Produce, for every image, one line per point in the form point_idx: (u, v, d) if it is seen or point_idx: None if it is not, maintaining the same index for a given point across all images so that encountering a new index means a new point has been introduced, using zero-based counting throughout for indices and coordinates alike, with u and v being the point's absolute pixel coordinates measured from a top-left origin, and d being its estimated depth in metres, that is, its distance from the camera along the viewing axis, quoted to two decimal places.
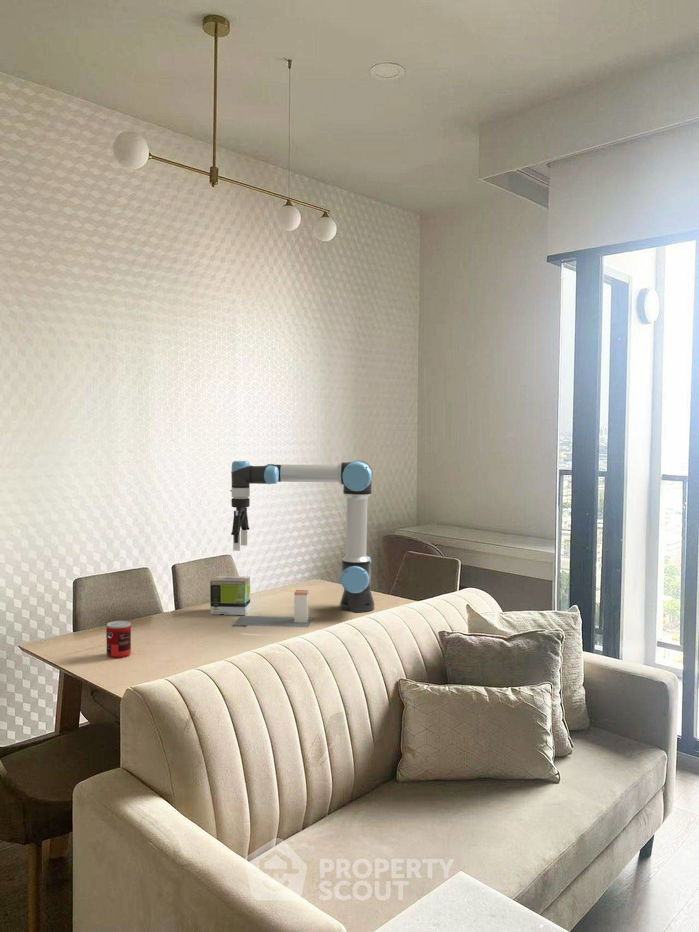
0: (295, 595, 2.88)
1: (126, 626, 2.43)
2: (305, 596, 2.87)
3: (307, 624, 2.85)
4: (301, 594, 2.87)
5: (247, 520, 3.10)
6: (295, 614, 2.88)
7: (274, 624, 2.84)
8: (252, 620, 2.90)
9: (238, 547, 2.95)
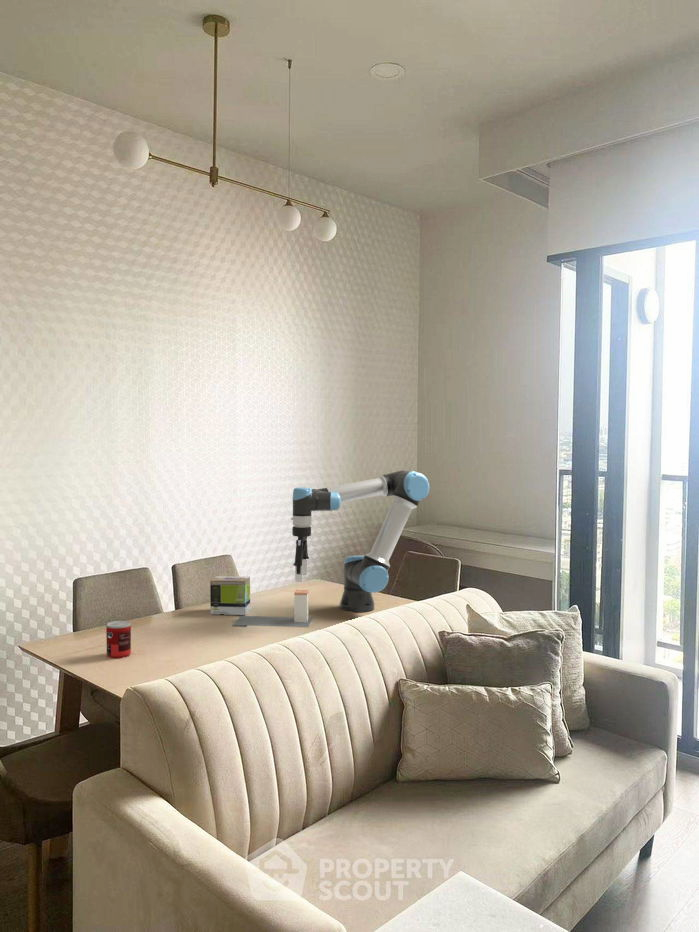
0: (295, 595, 2.88)
1: (126, 626, 2.43)
2: (305, 596, 2.87)
3: (307, 624, 2.85)
4: (301, 594, 2.87)
5: None
6: (295, 614, 2.88)
7: (274, 624, 2.84)
8: (252, 620, 2.90)
9: (300, 578, 2.82)
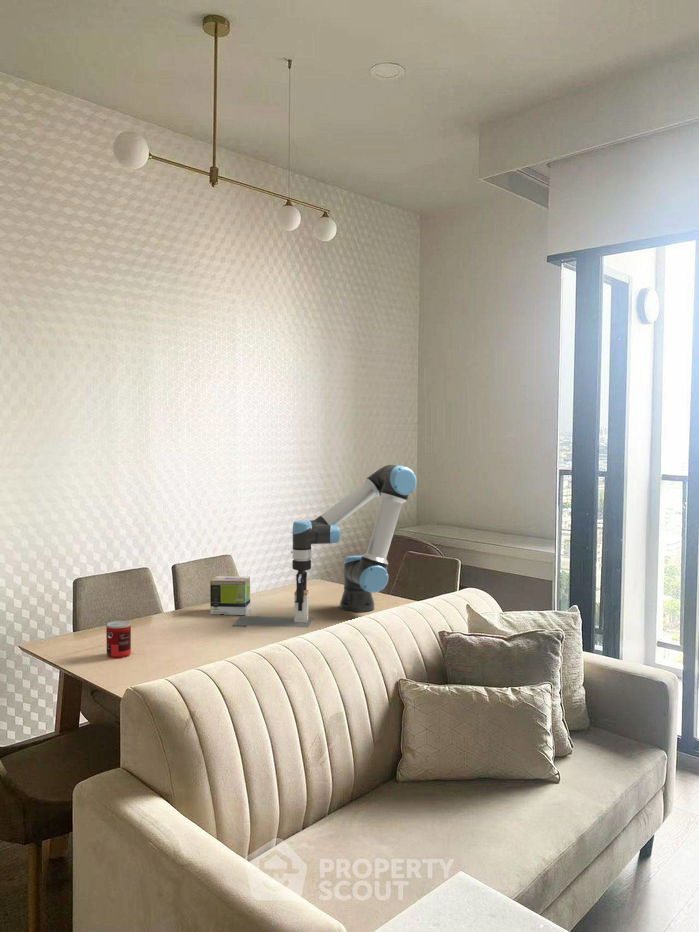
0: (295, 595, 2.88)
1: (126, 626, 2.43)
2: (305, 596, 2.87)
3: (307, 624, 2.85)
4: None
5: (306, 586, 2.95)
6: (295, 614, 2.88)
7: (274, 624, 2.84)
8: (252, 620, 2.90)
9: (302, 615, 2.87)
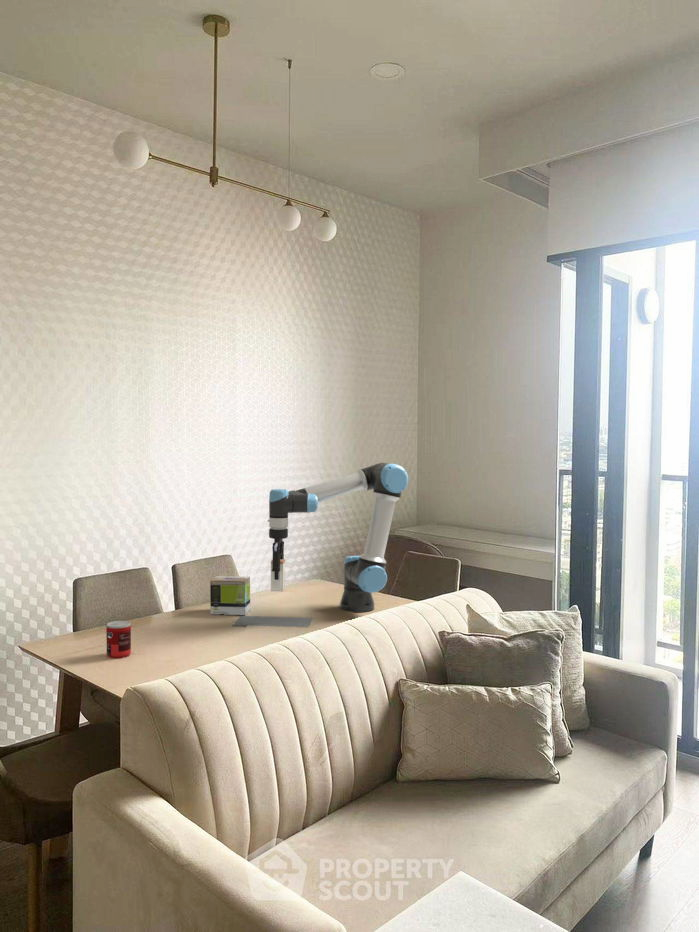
0: (271, 563, 2.85)
1: (126, 626, 2.43)
2: (281, 565, 2.84)
3: (307, 624, 2.85)
4: None
5: (283, 556, 2.92)
6: (271, 583, 2.85)
7: (274, 624, 2.84)
8: (252, 620, 2.90)
9: (278, 584, 2.84)
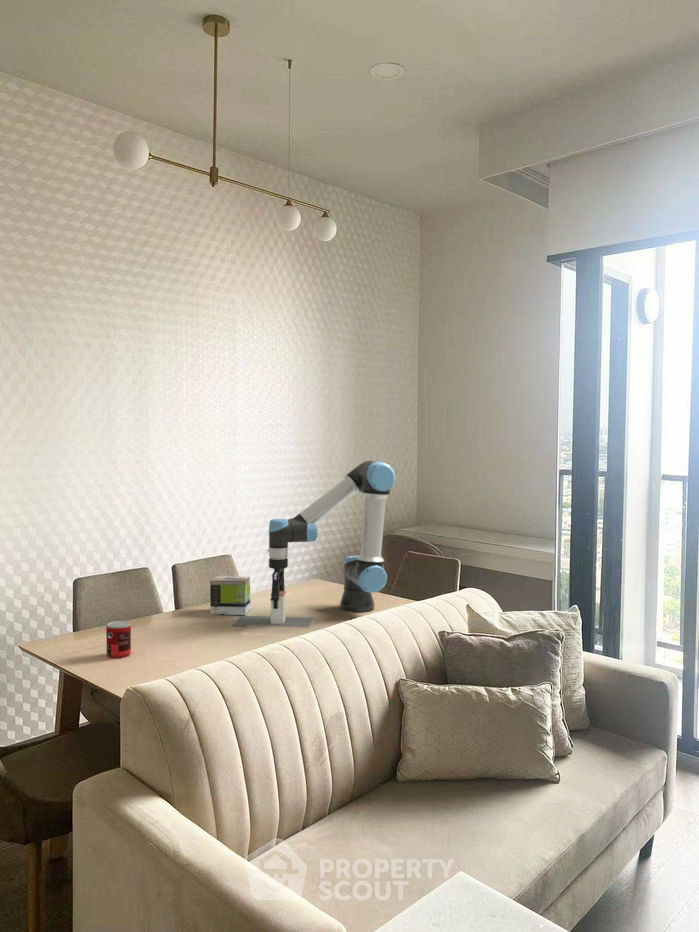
0: (271, 596, 2.85)
1: (126, 626, 2.43)
2: (281, 597, 2.85)
3: (307, 624, 2.85)
4: None
5: None
6: (271, 615, 2.86)
7: (274, 624, 2.84)
8: (252, 620, 2.90)
9: (277, 613, 2.82)
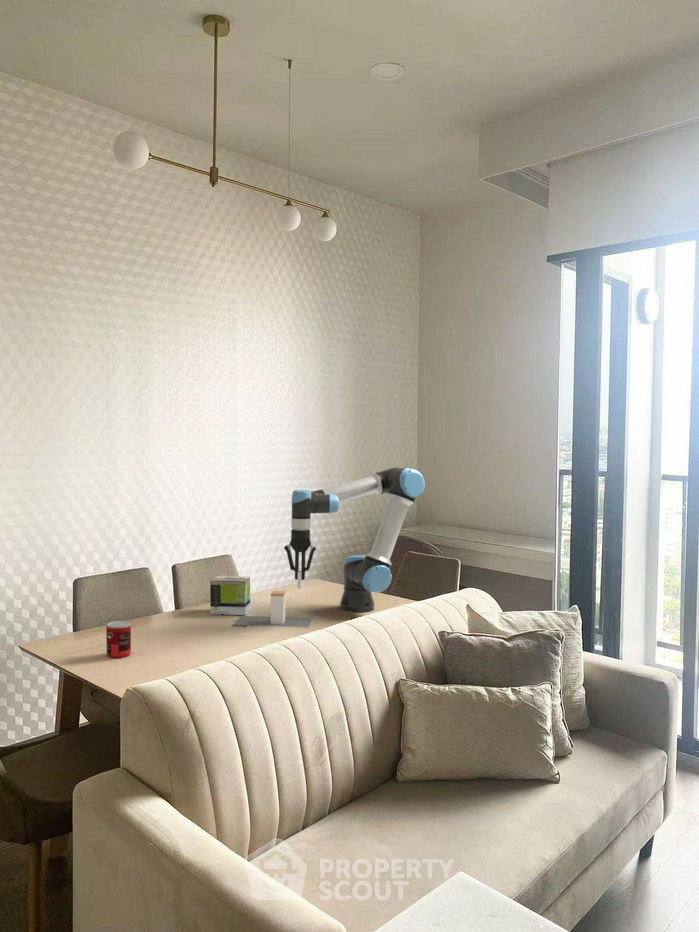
0: (271, 596, 2.85)
1: (126, 626, 2.43)
2: (281, 597, 2.85)
3: (307, 624, 2.85)
4: (277, 595, 2.85)
5: (309, 561, 2.85)
6: (271, 615, 2.86)
7: (274, 624, 2.84)
8: (252, 620, 2.90)
9: None
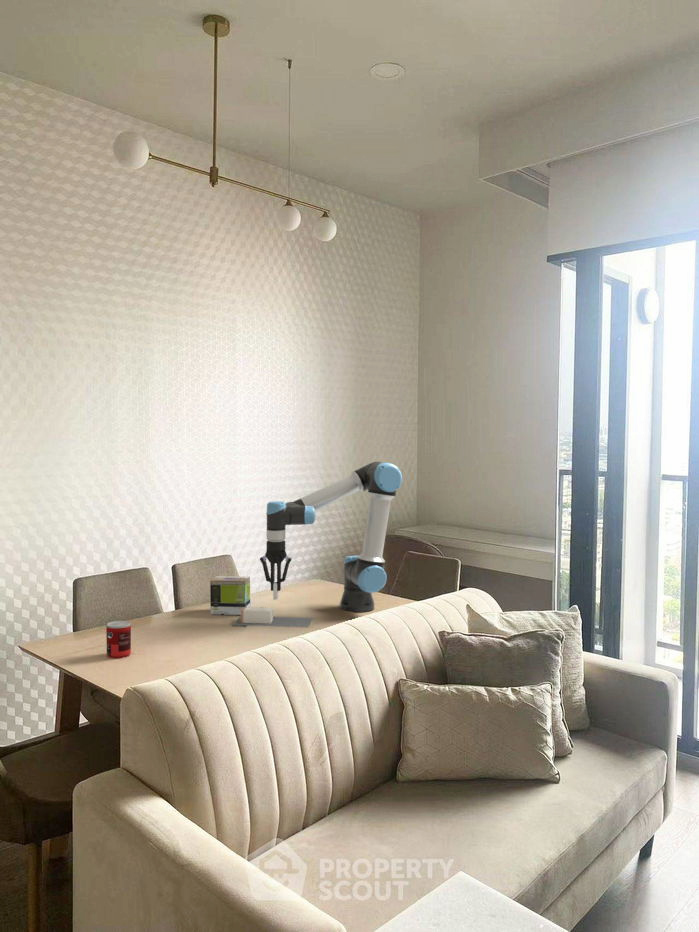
0: (243, 621, 2.87)
1: (126, 626, 2.43)
2: (244, 611, 2.86)
3: (307, 624, 2.85)
4: (242, 615, 2.86)
5: (284, 572, 2.86)
6: (262, 622, 2.86)
7: (274, 624, 2.84)
8: None
9: None
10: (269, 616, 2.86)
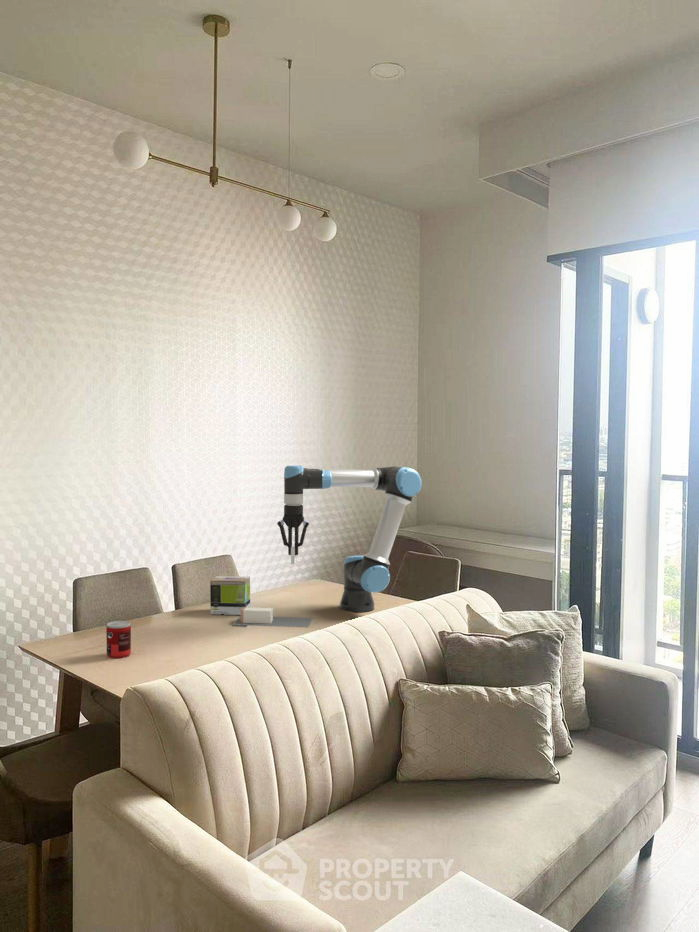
0: (243, 621, 2.87)
1: (126, 626, 2.43)
2: (244, 611, 2.86)
3: (307, 624, 2.85)
4: (242, 615, 2.86)
5: (302, 536, 2.84)
6: (262, 622, 2.86)
7: (274, 624, 2.84)
8: None
9: (291, 560, 2.86)
10: (269, 616, 2.86)
